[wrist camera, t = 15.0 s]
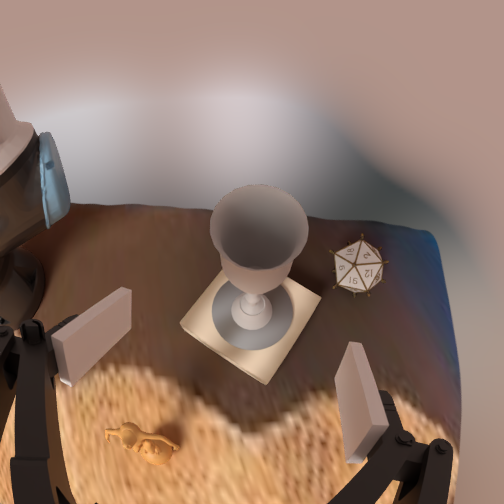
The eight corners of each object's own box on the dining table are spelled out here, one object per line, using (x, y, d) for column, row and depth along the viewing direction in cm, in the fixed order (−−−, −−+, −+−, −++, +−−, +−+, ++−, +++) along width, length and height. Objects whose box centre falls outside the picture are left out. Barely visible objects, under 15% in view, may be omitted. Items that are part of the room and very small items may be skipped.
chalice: (227, 280, 37) (218, 181, 22) (280, 285, 37) (307, 188, 22) (220, 336, 34) (201, 266, 18) (277, 341, 34) (309, 275, 18)
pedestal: (184, 330, 38) (178, 321, 34) (239, 260, 44) (239, 246, 40) (265, 385, 35) (268, 382, 31) (315, 306, 40) (322, 296, 37)
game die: (335, 279, 47) (340, 220, 43) (385, 289, 42) (395, 229, 39) (317, 306, 40) (322, 237, 36) (376, 320, 35) (389, 249, 32)
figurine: (131, 458, 28) (89, 472, 18) (129, 417, 31) (86, 416, 21) (193, 463, 29) (171, 486, 18) (190, 421, 32) (167, 426, 21)
